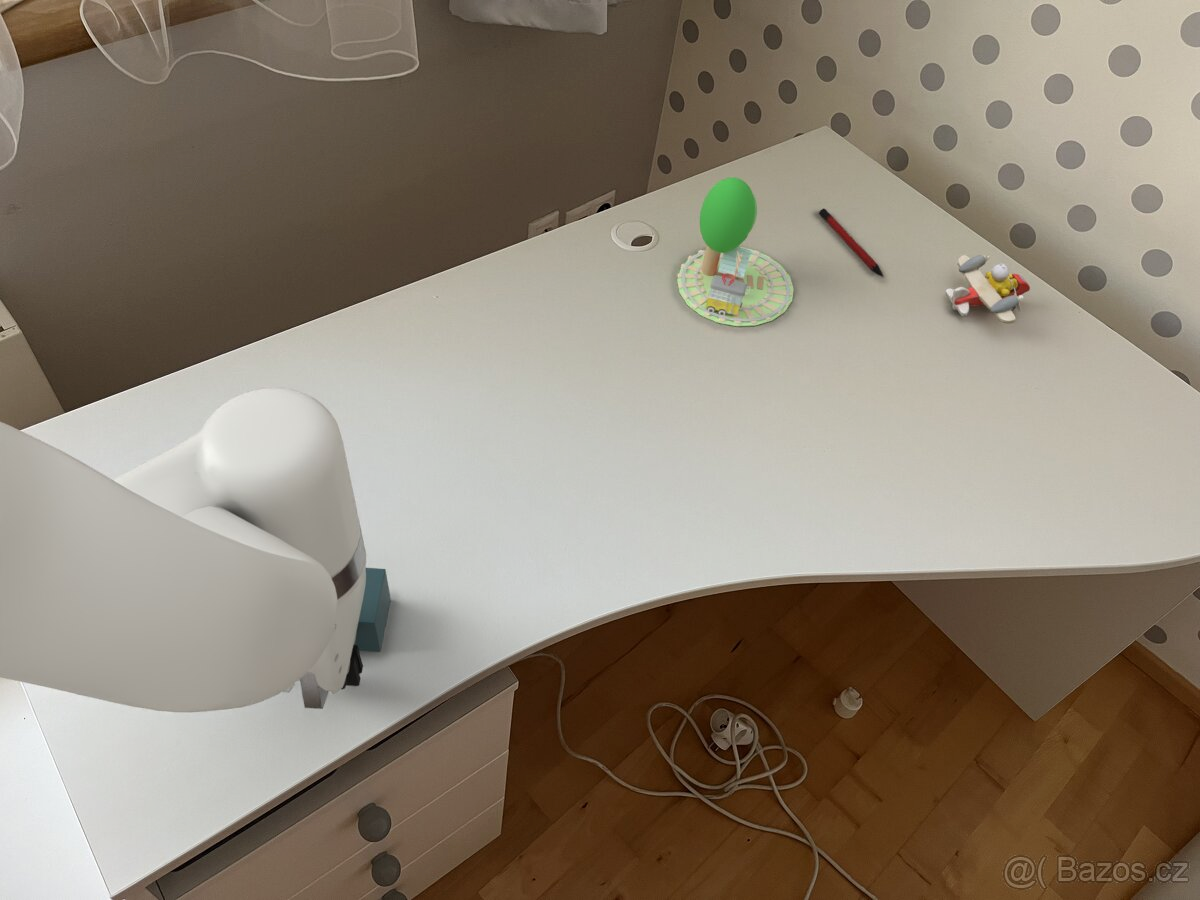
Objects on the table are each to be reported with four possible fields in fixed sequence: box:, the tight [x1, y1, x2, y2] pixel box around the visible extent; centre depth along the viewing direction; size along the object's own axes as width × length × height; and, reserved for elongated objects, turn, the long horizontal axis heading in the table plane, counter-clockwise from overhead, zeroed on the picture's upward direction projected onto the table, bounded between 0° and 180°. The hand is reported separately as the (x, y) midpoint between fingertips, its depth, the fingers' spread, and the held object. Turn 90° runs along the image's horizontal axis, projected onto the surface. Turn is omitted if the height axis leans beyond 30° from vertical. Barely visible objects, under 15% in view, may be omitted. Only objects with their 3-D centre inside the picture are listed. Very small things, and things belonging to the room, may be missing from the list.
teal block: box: [354, 567, 392, 652], centre depth 74 cm, size 5×5×5 cm
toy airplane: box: [945, 251, 1031, 324], centre depth 107 cm, size 9×9×6 cm
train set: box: [676, 176, 795, 327], centre depth 103 cm, size 15×14×14 cm
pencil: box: [818, 208, 884, 278], centre depth 115 cm, size 1×14×1 cm, turn 24°
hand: (341, 675), depth 71 cm, fingers closed
